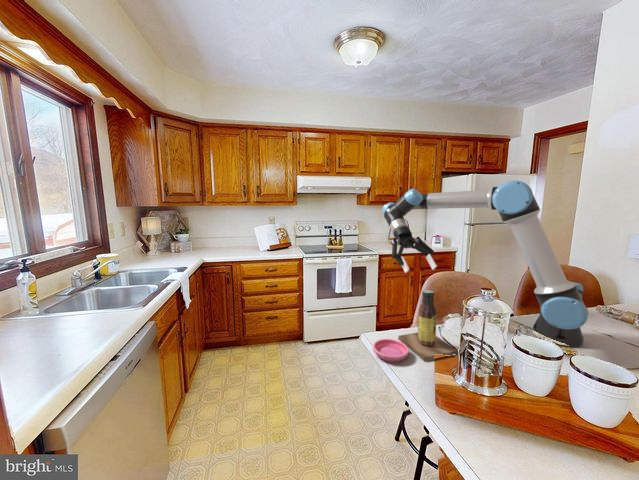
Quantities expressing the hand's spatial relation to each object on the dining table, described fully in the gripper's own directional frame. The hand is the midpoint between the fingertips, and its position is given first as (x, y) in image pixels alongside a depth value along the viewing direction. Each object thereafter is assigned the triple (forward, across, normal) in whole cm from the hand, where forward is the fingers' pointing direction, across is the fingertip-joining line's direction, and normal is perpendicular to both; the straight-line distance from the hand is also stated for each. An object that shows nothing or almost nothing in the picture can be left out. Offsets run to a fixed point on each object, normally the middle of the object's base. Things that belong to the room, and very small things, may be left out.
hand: (421, 269), depth 113 cm
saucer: (+28, +23, -9) cm, 37 cm away
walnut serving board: (+28, +7, -9) cm, 30 cm away
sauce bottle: (+26, +7, -8) cm, 29 cm away
